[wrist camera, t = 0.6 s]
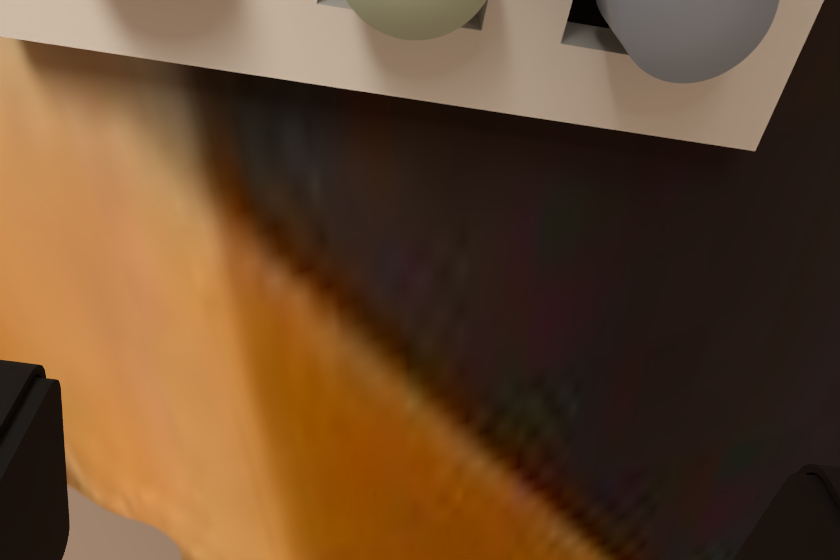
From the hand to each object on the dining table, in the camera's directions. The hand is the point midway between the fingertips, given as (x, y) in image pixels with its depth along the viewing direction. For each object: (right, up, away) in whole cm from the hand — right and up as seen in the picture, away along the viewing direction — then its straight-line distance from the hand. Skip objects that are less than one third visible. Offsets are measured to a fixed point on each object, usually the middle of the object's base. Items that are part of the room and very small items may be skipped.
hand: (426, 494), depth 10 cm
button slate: (+9, +14, +18) cm, 24 cm away
